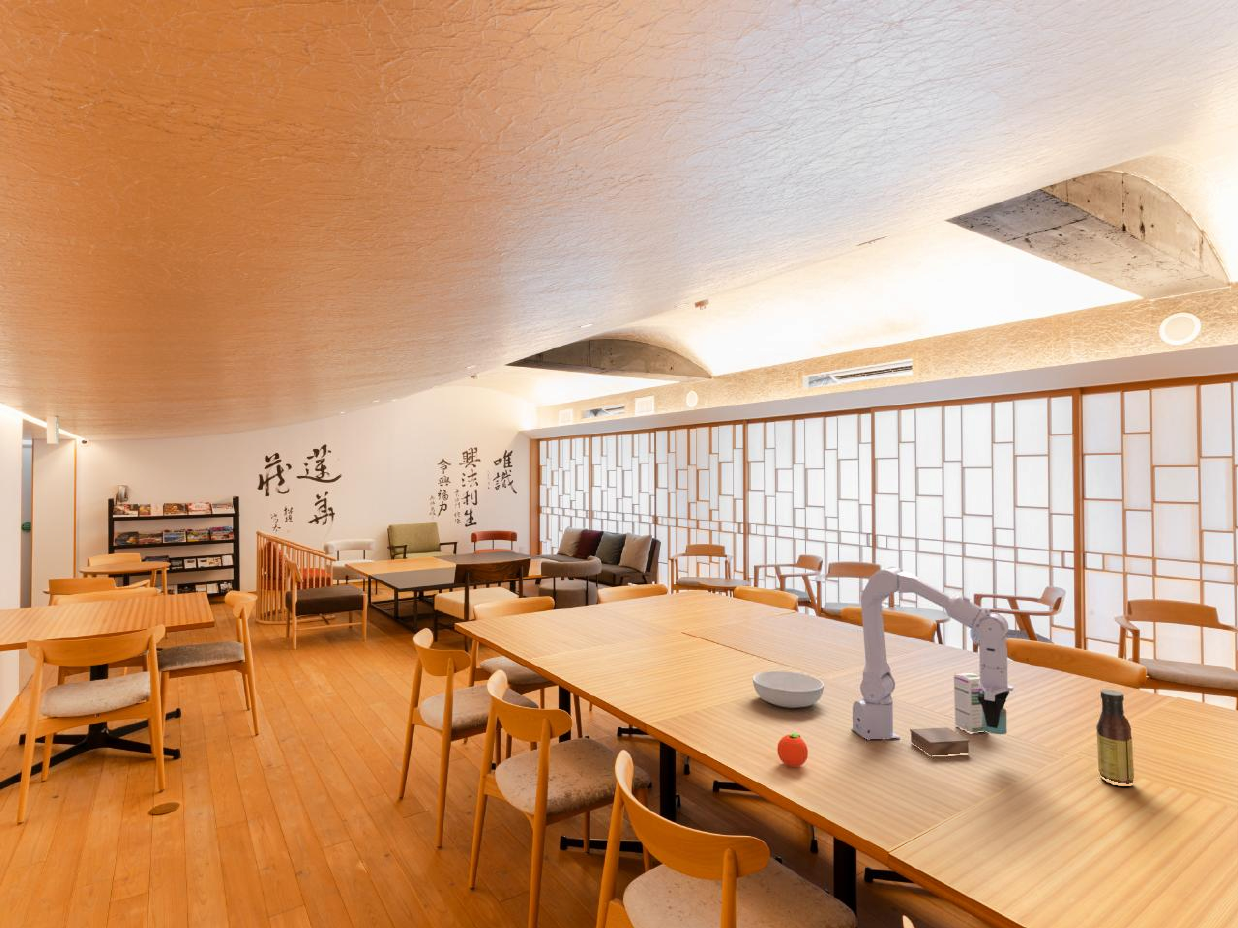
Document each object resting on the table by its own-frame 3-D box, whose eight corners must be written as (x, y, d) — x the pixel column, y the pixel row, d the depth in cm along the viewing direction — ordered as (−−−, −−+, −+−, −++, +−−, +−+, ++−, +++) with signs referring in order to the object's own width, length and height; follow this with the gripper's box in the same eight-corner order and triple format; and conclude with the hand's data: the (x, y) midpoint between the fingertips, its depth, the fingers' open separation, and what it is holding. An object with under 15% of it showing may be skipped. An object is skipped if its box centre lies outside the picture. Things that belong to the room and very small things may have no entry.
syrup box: (971, 734, 167) (970, 679, 167) (953, 726, 173) (953, 672, 173) (988, 732, 168) (987, 677, 169) (970, 724, 174) (970, 671, 175)
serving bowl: (828, 718, 178) (828, 693, 179) (752, 712, 182) (752, 688, 183) (820, 694, 199) (820, 672, 199) (752, 689, 203) (752, 668, 203)
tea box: (930, 759, 152) (930, 742, 152) (910, 744, 161) (909, 728, 161) (970, 756, 154) (969, 740, 154) (947, 742, 162) (947, 727, 162)
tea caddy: (992, 734, 147) (992, 712, 147) (977, 726, 152) (977, 705, 152) (1011, 733, 148) (1011, 712, 148) (996, 725, 153) (995, 704, 153)
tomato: (786, 755, 153) (786, 725, 153) (814, 763, 149) (814, 732, 149) (772, 766, 147) (772, 735, 147) (800, 775, 142) (800, 743, 143)
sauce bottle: (1118, 775, 144) (1116, 687, 144) (1141, 788, 137) (1139, 696, 138) (1090, 775, 143) (1088, 687, 144) (1112, 788, 137) (1110, 696, 138)
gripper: (1009, 675, 142) (1010, 736, 142) (1015, 661, 154) (1016, 718, 153) (973, 669, 146) (974, 729, 146) (982, 656, 158) (983, 711, 157)
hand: (993, 723), depth 150 cm, fingers closed on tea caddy, 5 cm apart
